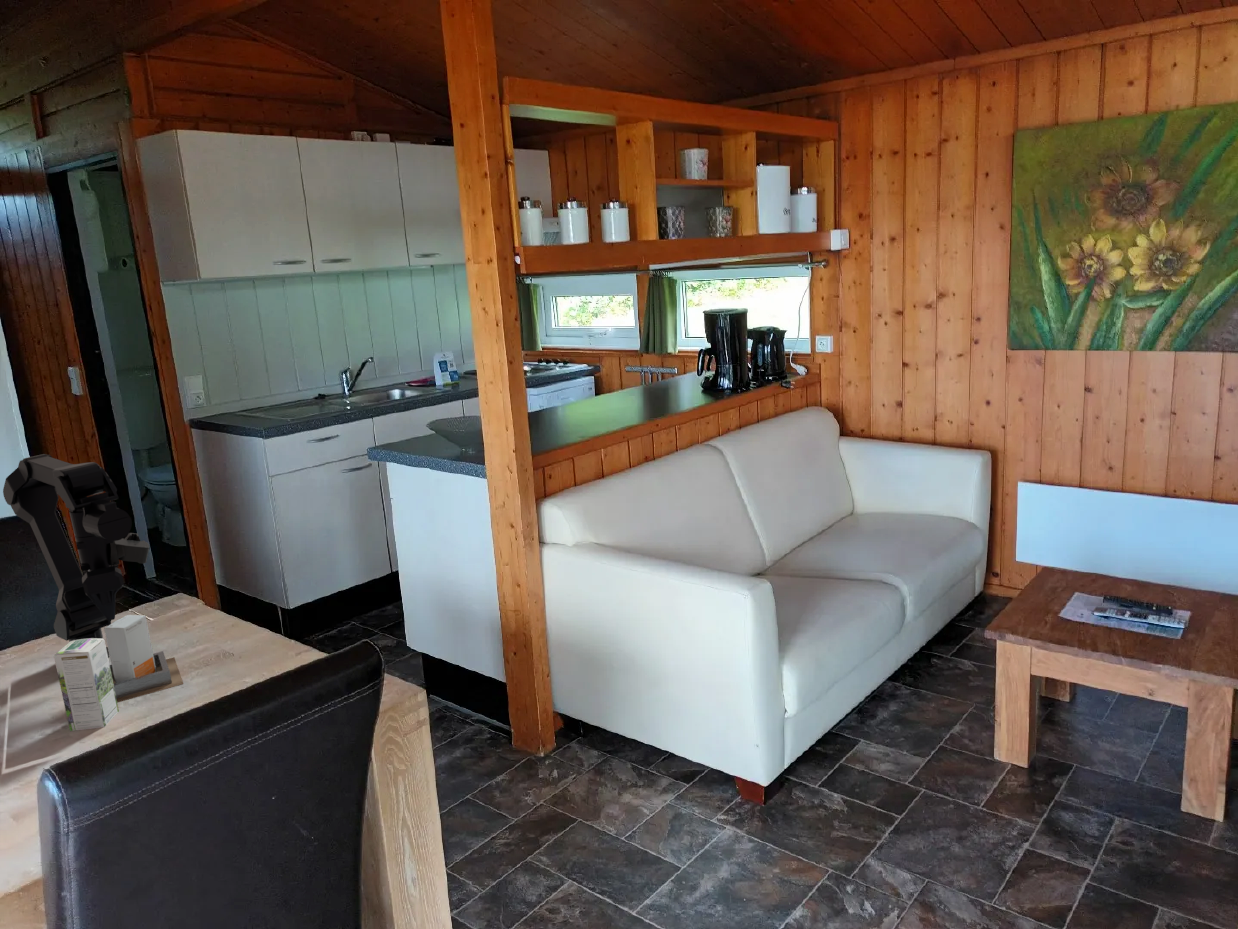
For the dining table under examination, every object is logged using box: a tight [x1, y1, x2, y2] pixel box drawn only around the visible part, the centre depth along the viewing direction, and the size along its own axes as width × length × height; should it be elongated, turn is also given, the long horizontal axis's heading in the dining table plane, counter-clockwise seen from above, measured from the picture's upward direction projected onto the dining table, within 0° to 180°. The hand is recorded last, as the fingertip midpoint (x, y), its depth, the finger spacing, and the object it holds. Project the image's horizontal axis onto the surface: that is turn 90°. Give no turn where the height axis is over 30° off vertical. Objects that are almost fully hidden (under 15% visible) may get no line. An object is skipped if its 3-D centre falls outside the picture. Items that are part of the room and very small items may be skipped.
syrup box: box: [53, 637, 120, 732], centre depth 155 cm, size 6×6×14 cm
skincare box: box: [103, 614, 157, 683], centre depth 169 cm, size 6×4×12 cm
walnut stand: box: [113, 657, 184, 704], centre depth 170 cm, size 14×14×1 cm
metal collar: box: [110, 650, 172, 699], centre depth 170 cm, size 10×10×2 cm
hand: (109, 612), depth 171 cm, fingers open, 9 cm apart
